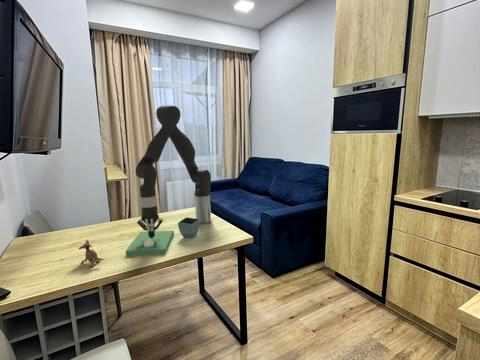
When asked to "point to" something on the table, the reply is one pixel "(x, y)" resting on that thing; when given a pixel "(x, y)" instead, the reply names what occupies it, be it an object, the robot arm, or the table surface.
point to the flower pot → (189, 227)
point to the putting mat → (160, 246)
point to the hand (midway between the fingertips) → (151, 237)
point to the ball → (148, 243)
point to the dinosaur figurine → (90, 254)
